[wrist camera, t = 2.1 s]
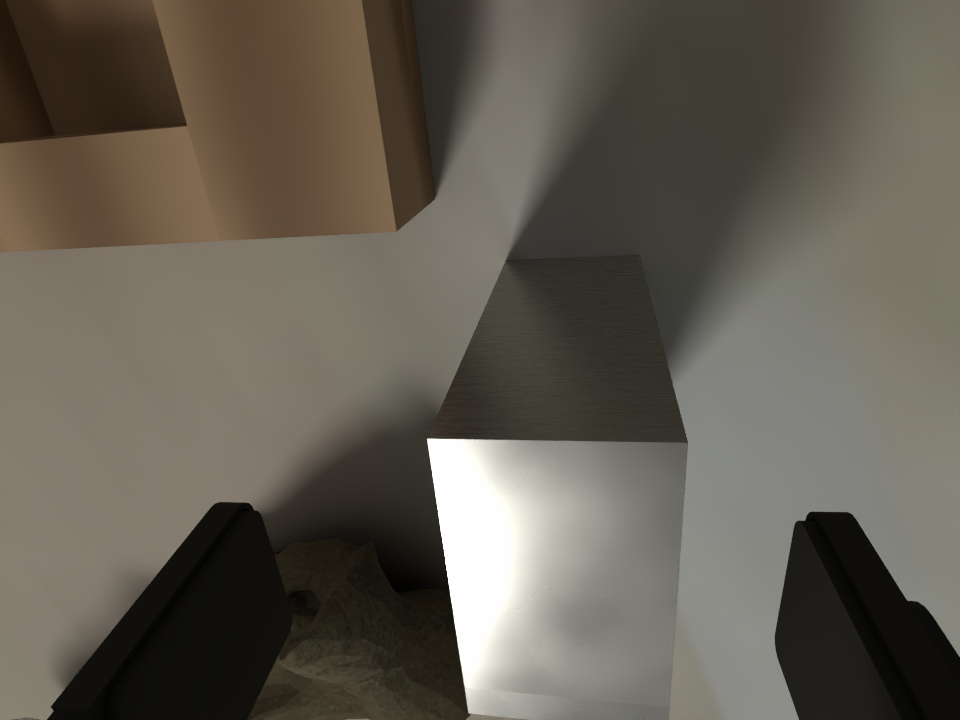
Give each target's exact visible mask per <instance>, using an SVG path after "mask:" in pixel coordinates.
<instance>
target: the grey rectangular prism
mask: <svg viewBox="0 0 960 720" xmlns="http://www.w3.org/2000/svg"><path fill="white" fill-rule="evenodd" d="M427 441H428V447H429V454H430V461H431V467H432V474H433V481H434V487H435V494H436V500H437V507H438V514H439V520H440V527H441V534H442V540H443V547H444V554H445V560H446V567H447V573H448V580H449V587H450V593H451V600H452V607H453V613H454V620H455V627H456V633H457V640H458V646H459V653H460V660H461V666H462V673H463V680H464V686H465V693H466V700H467V706H468V713H470V714H480V715H490V716H499V717H509V718H519V719H528V720H669V708H670V693H671V679H672V665H673V650H674V636H675V622H676V607H677V593H678V579H679V564H680V550H681V536H682V521H683V507H684V493H685V478H686V464H687V450H688V441H687V437H686V433H685V429H684V426H683V422H682V418H681V414H680V410H679V406H678V403H677V399H676V395H675V391H674V387H673V383H672V380H671V376H670V372H669V368H668V364H667V360H666V356H665V353H664V349H663V345H662V341H661V337H660V333H659V330H658V326H657V322H656V318H655V314H654V310H653V306H652V303H651V299H650V295H649V291H648V287H647V283H646V280H645V276H644V272H643V268H642V264H641V260H640V257H639V255H632V256H607V257H583V258H559V259H534V260H510V261H505V263H504V266H503V268H502V270H501V273H500V275H499V277H498V279H497V282H496V284H495V286H494V288H493V291H492V293H491V295H490V297H489V300H488V302H487V304H486V307H485V309H484V311H483V313H482V316H481V318H480V320H479V322H478V325H477V327H476V329H475V331H474V334H473V336H472V338H471V341H470V343H469V345H468V347H467V350H466V352H465V354H464V356H463V359H462V361H461V363H460V365H459V368H458V370H457V372H456V375H455V377H454V379H453V381H452V384H451V386H450V388H449V390H448V393H447V395H446V397H445V399H444V402H443V404H442V406H441V409H440V411H439V413H438V415H437V418H436V420H435V422H434V424H433V427H432V429H431V431H430V434H429V436H428V438H427Z"/></svg>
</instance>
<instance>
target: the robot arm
mask: <svg viewBox="0 0 960 720" xmlns="http://www.w3.org/2000/svg"><path fill="white" fill-rule="evenodd" d="M292 621H293V614H292V610H291V606H290V603H289V600H288V597H287V594H286V591H285V588H284V585H283V581H282V578H281V575H280V572H279V569H278V566H277V563H276V560H275V557H274V553H273V550H272V547H271V544H270V541H269V538H268V535H267V532H266V528H265V525H264V522H263V519H262V516H261V514H260V513H259V512H258V511H254V509H253V507H252V506H251V505H250V504H249V503H233V502H219V503H216V504H214V505H213V506H212V507H211V508H210V509H209V511H208V512H207V513H206V514H205V516H204V517H203V518H202V519H201V521H200V522H199V523H198V524H197V526H196V527H195V528H194V529H193V531H192V532H191V533H190V534H189V536H188V537H187V538H186V539H185V541H184V542H183V543H182V544H181V546H180V547H179V548H178V549H177V550H176V552H175V553H174V554H173V555H172V557H171V558H170V559H169V560H168V562H167V563H166V564H165V565H164V567H163V568H162V569H161V570H160V572H159V573H158V574H157V575H156V577H155V578H154V579H153V580H152V582H151V583H150V584H149V585H148V587H147V588H146V589H145V590H144V592H143V593H142V594H141V595H140V597H139V598H138V599H137V600H136V601H135V603H134V604H133V605H132V606H131V608H130V609H129V610H128V611H127V613H126V614H125V615H124V616H123V618H122V619H121V620H120V621H119V623H118V624H117V625H116V626H115V628H114V629H113V630H112V631H111V633H110V634H109V635H108V636H107V638H106V639H105V640H104V641H103V643H102V644H101V645H100V646H99V648H98V649H97V650H96V651H95V652H94V654H93V655H92V656H91V657H90V659H89V660H88V661H87V662H86V664H85V665H84V666H83V667H82V669H81V670H80V671H79V672H78V674H77V675H76V676H75V677H74V679H73V680H72V681H71V682H70V684H69V685H68V686H67V687H66V689H65V690H64V691H63V692H62V694H61V695H60V696H59V697H58V698H57V700H56V701H55V702H54V703H53V705H52V706H51V708H52V709H53V711H54V712H53V713H52V714H51V715H50V717H49V718H48V719H47V720H247V719H248V717H249V715H250V713H251V711H252V709H253V707H254V705H255V703H256V700H257V698H258V696H259V694H260V692H261V690H262V688H263V686H264V684H265V682H266V680H267V678H268V676H269V674H270V672H271V670H272V668H273V666H274V664H275V662H276V660H277V658H278V656H279V654H280V651H281V649H282V647H283V645H284V643H285V641H286V639H287V637H288V635H289V633H290V630H291V627H292ZM775 647H776V653H777V657H778V660H779V663H780V666H781V669H782V672H783V675H784V677H785V680H786V683H787V686H788V689H789V692H790V695H791V697H792V700H793V703H794V706H795V709H796V712H797V715H798V717H799V720H960V657H959V656H958V654H957V653H956V651H955V650H954V648H953V647H952V645H951V643H950V642H949V640H948V639H947V637H946V636H945V634H944V633H943V631H942V630H941V628H940V627H939V625H938V624H937V622H936V621H935V619H934V618H933V616H932V615H931V614H930V612H929V611H928V610H927V609H926V608H925V607H924V606H923V605H921V604H920V603H918V602H915V601H907V600H906V598H905V597H904V595H903V594H902V592H901V590H900V589H899V587H898V586H897V584H896V582H895V581H894V579H893V578H892V576H891V574H890V573H889V571H888V570H887V568H886V566H885V565H884V563H883V562H882V560H881V558H880V557H879V555H878V554H877V552H876V551H875V549H874V547H873V546H872V544H871V543H870V541H869V539H868V538H867V536H866V535H865V533H864V531H863V530H862V528H861V527H860V525H859V523H858V522H857V520H856V519H855V518H854V516H853V515H852V514H850V513H848V512H809V514H808V515H807V517H806V521H797V522H796V523H795V526H794V531H793V537H792V542H791V548H790V553H789V559H788V565H787V570H786V576H785V581H784V587H783V593H782V598H781V604H780V610H779V615H778V621H777V626H776V632H775ZM13 720H38V719H33V718H28V717H27V718H20V719H13Z"/></svg>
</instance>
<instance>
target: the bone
mask: <svg viewBox="0 0 960 720" xmlns="http://www.w3.org/2000/svg"><path fill="white" fill-rule="evenodd" d="M274 557H275V560H276V563H277V566H278V569H279V572H280V575H281V578H282V581H283V585H284V588H285V591H286V594H287V597H288V600H289V603H290V606H291V610H292V614H293V621H292V627H291V630H290V633H289V635H288V637H287V639H286V641H285V643H284V645H283V647H282V649H281V651H280V654H279V656H278V658H277V660H276V662H275V664H274V666H273V668H272V670H271V672H270V674H269V676H268V678H267V680H266V682H265V684H264V686H263V688H262V690H261V692H260V694H259V696H258V698H257V700H256V703H255V705H254V707H253V709H252V711H251V713H250V715H249V717H248V719H247V720H345V719H366V718H367V719H371V720H466V719H467V718H468V717H469V716H470V715H471V714H470V713H468V706H467V700H466V693H465V686H464V680H463V673H462V666H461V660H460V653H459V646H458V640H457V633H456V627H455V620H454V613H453V607H452V600H451V593H450V591H447V590H443V589H438V588H430V589H425V588H423V589H419V590H414V591H409V592H403V593H399V594H398V593H397V592H396V591H395V590H394V589H393V588H392V587H391V585H390V583H389V581H388V579H387V578H386V576H385V574H384V572H383V570H382V568H381V566H380V565H379V563H378V558H377V553H376V549H375V546H374V544H373V542H372V541H369V542H367V543H365V544H364V545H362V546H358V545H354V544H350V543H348V542H346V541H343V540H341V539H338V538H329V539H322V540H315V541H311V542H301V541H294V542H293V543H291V544H290V545H289V546H288V547H286V548H285V549H284V550H283V551H282V552H280V553H279V554H277V555H275V556H274Z"/></svg>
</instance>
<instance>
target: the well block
mask: <svg viewBox="0 0 960 720" xmlns="http://www.w3.org/2000/svg"><path fill="white" fill-rule="evenodd" d="M433 200H435V195H434V187H433V179H432V170H431V162H430V154H429V145H428V137H427V129H426V120H425V112H424V104H423V95H422V87H421V79H420V70H419V62H418V54H417V45H416V37H415V29H414V20H413V12H412V4H411V0H0V252H13V251H32V250H52V249H71V248H90V247H109V246H128V245H148V244H167V243H186V242H205V241H224V240H244V239H263V238H282V237H301V236H320V235H340V234H359V233H378V232H397V231H398V230H399V229H400V228H401V227H403V226H404V225H405V224H406V223H407V222H408V221H410V220H411V219H412V218H413V217H414V216H416V215H417V214H418V213H419V212H420V211H422V210H423V209H424V208H425V207H426V206H427V205H429V204H430V203H431V202H432V201H433Z"/></svg>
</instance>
